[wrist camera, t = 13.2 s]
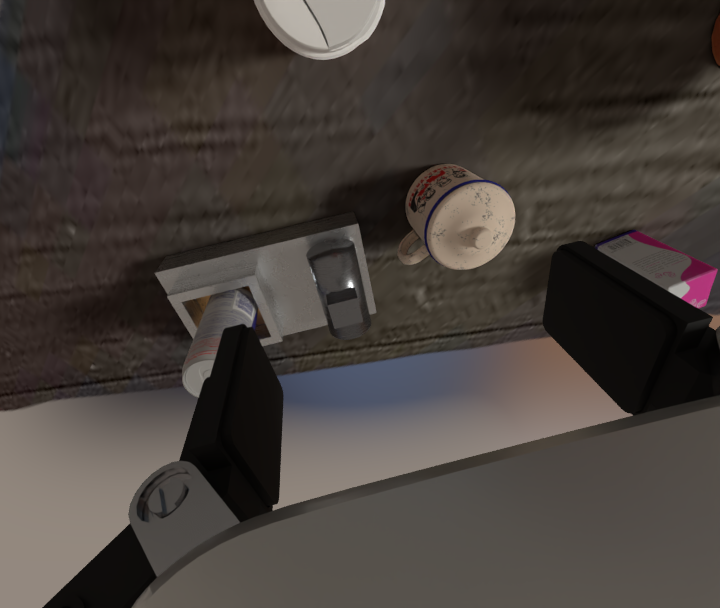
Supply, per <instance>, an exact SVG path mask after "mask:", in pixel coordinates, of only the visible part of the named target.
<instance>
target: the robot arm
mask: <svg viewBox="0 0 720 608" xmlns="http://www.w3.org/2000/svg"><path fill="white" fill-rule="evenodd" d="M712 318H713V317H712V316H710V315H708V314H707V313H705V312H703V311H702V310H700V309H698V308H696V307H695V306H693V305H691V304H690V303H688V302H686V301H684V300H683V299H681V298H679V297H678V296H676V295H674V294H672V293H671V292H669V291H667V290H666V289H664V288H662V287H660V286H659V285H657V284H655V283H654V282H652V281H650V280H648V279H647V278H645V277H643V276H642V275H640V274H638V273H636V272H635V271H633V270H631V269H630V268H628V267H626V266H624V265H623V264H621V263H619V262H618V261H616V260H614V259H612V258H611V257H609V256H607V255H606V254H604V253H602V252H600V251H599V250H597V249H595V248H594V247H592V246H590V245H588V244H587V243H585V242H583V241H577V242H573V243H569V244H565V245H561V246H560V247H559V248H558V249H557V251H556V252H554V254H553V256H552V261H551V268H550V275H549V281H548V288H547V295H546V301H545V308H544V315H543V326H544V328H545V330H546V331H547V332H548V333H549V334H550V335H551V337H552V338H553V339H554V340H555V341H556V342H557V343H558V344H559V345H560V346H561V347H562V348H563V349H564V350H565V351H566V352H567V353H568V354H569V355H570V356H571V357H572V358H573V359H574V360H575V361H576V362H577V363H578V364H579V365H580V366H581V367H582V368H583V369H584V371H585V372H587V374H588V375H589V376H590V377H591V378H592V379H593V380H594V381H595V382H596V383H597V384H598V385H599V386H600V387H601V388H602V389H603V390H604V391H605V392H606V393H607V394H608V395H609V396H610V397H611V398H612V399H613V400H614V401H615V402H616V403H617V405H618V406H619V407H621V409H623V410H624V411H625V412H627V413H631V414H633V416H630V417H626V418H623V419H618V420H615V421H610V422H607V423H602V424H598V425H595V426H590V427H586V428H582V429H578V430H574V431H570V432H566V433H563V434H559V435H555V436H551V437H547V438H543V439H539V440H535V441H531V442H527V443H523V444H519V445H515V446H512V447H508V448H504V449H500V450H496V451H492V452H488V453H484V454H480V455H476V456H473V457H469V458H465V459H461V460H457V461H453V462H449V463H446V464H441V465H438V466H434V467H430V468H426V469H423V470H419V471H415V472H411V473H408V474H403V475H399V476H396V477H392V478H388V479H385V480H380V481H377V482H373V483H369V484H365V485H361V486H357V487H354V488H350V489H346V490H343V491H339V492H336V493H332V494H328V495H325V496H321V497H318V498H314V499H311V500H307V501H303V502H300V503H296V504H293V505H289V506H286V507H283V508H280V509H277V510H274V511H272V508H273V505H274V504H277V503H278V500H279V487H280V464H281V463H280V462H281V440H282V418H283V390H282V387H281V385H280V382H279V380H278V378H277V376H276V374H275V372H274V370H273V368H272V366H271V363H270V361H269V359H268V357H267V355H266V353H265V351H264V349H263V347H262V345H261V343H260V340H259V338H258V336H257V334H256V332H255V330H254V328H253V327H247V326H246V325H245V324H240V325H236V326H231V327H227V328H225V329H224V330H223V333H222V336H221V340H220V343H219V347H218V350H217V354H216V357H215V361H214V364H213V368H212V371H211V374H210V377H207V378H206V379H205V380H204V382H203V385H202V388H201V392H200V395H199V398H198V402H197V405H196V408H195V411H194V414H193V418H192V421H191V425H190V428H189V431H188V434H187V437H186V441H185V444H184V447H183V451H182V454H181V457H180V460H179V461H177V462H172V463H170V464H167V465H165V466H163V467H161V468H160V469H159V470H157V471H155V472H154V473H153V474H151V475H150V476H149V477H148V478H147V479H146V480H145V481H144V482H143V483H142V485H141V486H140V487H139V489H138V490H137V492H136V493H135V495H134V497H133V499H132V502H131V504H130V508H129V514H128V515H129V519H130V524H129V525H128V526H127V527H126V528H125V529H124V530H123V531H122V532H121V533H120V534H119V535H118V536H117V537H115V538H114V539H113V540H112V541H111V542H110V543H109V544H108V545H107V546H106V547H105V548H104V549H103V550H102V551H101V552H100V553H99V554H98V555H97V556H96V557H95V558H94V559H93V560H91V561H90V562H89V563H88V564H87V565H86V566H85V567H84V568H83V569H82V570H81V571H80V572H79V573H78V574H77V575H76V576H75V577H74V578H73V579H72V580H71V581H70V582H69V583H68V584H66V585H65V586H64V587H63V588H62V589H61V590H60V591H59V592H58V593H57V594H56V595H55V596H54V597H53V598H52V599H51V600H50V601H49V602H48V603H47V604H46V605H45V606H44V607H42V608H720V326H719V327H718V328H717V329H716V330H714V329H712V328H710V327H709V324H710V322H711V320H712Z"/></svg>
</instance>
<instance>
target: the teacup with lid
mask: <svg viewBox="0 0 720 608" xmlns="http://www.w3.org/2000/svg"><path fill="white" fill-rule="evenodd" d="M405 209H406V215H407V219H408V221H409V223H410V225H411V226H412V228H413V230H412V231H411V232H410V233H409V234H407V235H406V236H405V237H404V239H403V240H402V241H401V243H400V245H399V248H398V257H399V259H400V260H401V261H402V263H404V264H406V265H412V264H415V263H418V262H420V261H421V260H423V259H424V258H425V257H427V256H428V255H429V254H430V255H431V257H432V258H433V259H434V260H435V261H436V262H438V263H439V264H441V265H442V266H445V267H448V268H451V269H456V270H465V269H471V268H475V267H478V266H481V265H483V264H485V263H486V262H488V261H490V260H491V259H492V258H494V257H495V256H496V255H497V254H498V253H499V252H500V251H501V250H502V249H503V248H504V246H505V245H506V243H507V242H508V240H509V238H510V236H511V234H512V231H513V228H514V223H515V209H514V205H513V202H512V199H511V197H510V195H509V194H508V193H507V191H506V190H505V189H504V188H503V187H501V186H500V185H498V184H497V183H495V182H492V181H488V180H484V179H482V178H480V177H478V176H476V175H475V174H473V173H471V172H469V171H468V170H466V169H464V168H462V167H460V166H458V165H454V164H440V165H436V166H434V167H431V168H429V169H428V170H426V171H425V172H423V173H422V174H421V175H420V176H419V177H418V178H417V179H416V180H415V181H414V183H413V184H412V186H411V188H410V189H409V192H408V195H407V198H406V205H405ZM419 238H421V239H422V241H423V242H424V243H425V244H424V245H423V246H421V247H420V248H419V249H418V250H416V251H415V252H413V253H411V254H408V255H407V252H408V249H409V248H410V246H411V245H412V244H413V243H414V242H415V241H416V240H417V239H419Z"/></svg>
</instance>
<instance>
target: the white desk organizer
mask: <svg viewBox="0 0 720 608" xmlns="http://www.w3.org/2000/svg"><path fill="white" fill-rule="evenodd" d="M155 275H156V276H157V278H158V280H159V281H160V283H161V284H162V286H163V288H164V289H165V291H166V293H167V294H168V295H167V298H168V299H169V301H170V302H171V304H172V306H173V307H174V309H175V310H176V312H177V314H178V315H179V317H180V318H181V320H182V322H183V323H184V325H185V326H186V328H187V330H188V331H189V333H190V334H191V336H192V338H193V339H194V337H195V334H196V332H197V329H198V326H199V324H200V321H201V319H202V316H203V314H204V311H205V308H206V306H207V303H208V301H209V298H210V296H211V295H212V294H217V293H221V292H225V291H229V290H233V289H237V288H241V287H242V288H244V289H246V290H248V291H249V292H251V293H252V295H253V297H254V299H255V301H256V304H257V306H258V314H257V320H256V326H255V332H256V334H257V336H258V338H259V340H260V343H261V345H262V346H265V345H269V344H273V343H277V342H281V341H283V336H284V335H288V334H292V333H296V332H300V331H304V330H309V329H313V328H317V327H321V326H325V325H328V327H329V330H330V333H331V334H332V336H334V337H335V338H338V339H343V340H348V339H354V338H357V337H359V336H361V335H363V334H364V333H366V332H367V331H368V330H369V328H370V326H371V318H370V314H373V313H376V308H375V303H374V298H373V293H372V288H371V283H370V279H369V274H368V269H367V264H366V259H365V254H364V249H363V244H362V239H361V234H360V229H359V224H358V222H357V219H356V217H355V214H354V212H353V211H352V212H348V213H344V214H340V215H336V216H332V217H327V218H323V219H319V220H315V221H311V222H307V223H303V224H298V225H294V226H290V227H286V228H282V229H278V230H274V231H269V232H265V233H261V234H257V235H253V236H249V237H245V238H240V239H236V240H232V241H228V242H224V243H220V244H216V245H211V246H207V247H203V248H199V249H195V250H191V251H187V252H182V253H178V254H174V255H170V256H166V258H165V259H164V260H163V262H162V263H161V265H160V266H159V267H158V269H157V270H156V271H155Z"/></svg>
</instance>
